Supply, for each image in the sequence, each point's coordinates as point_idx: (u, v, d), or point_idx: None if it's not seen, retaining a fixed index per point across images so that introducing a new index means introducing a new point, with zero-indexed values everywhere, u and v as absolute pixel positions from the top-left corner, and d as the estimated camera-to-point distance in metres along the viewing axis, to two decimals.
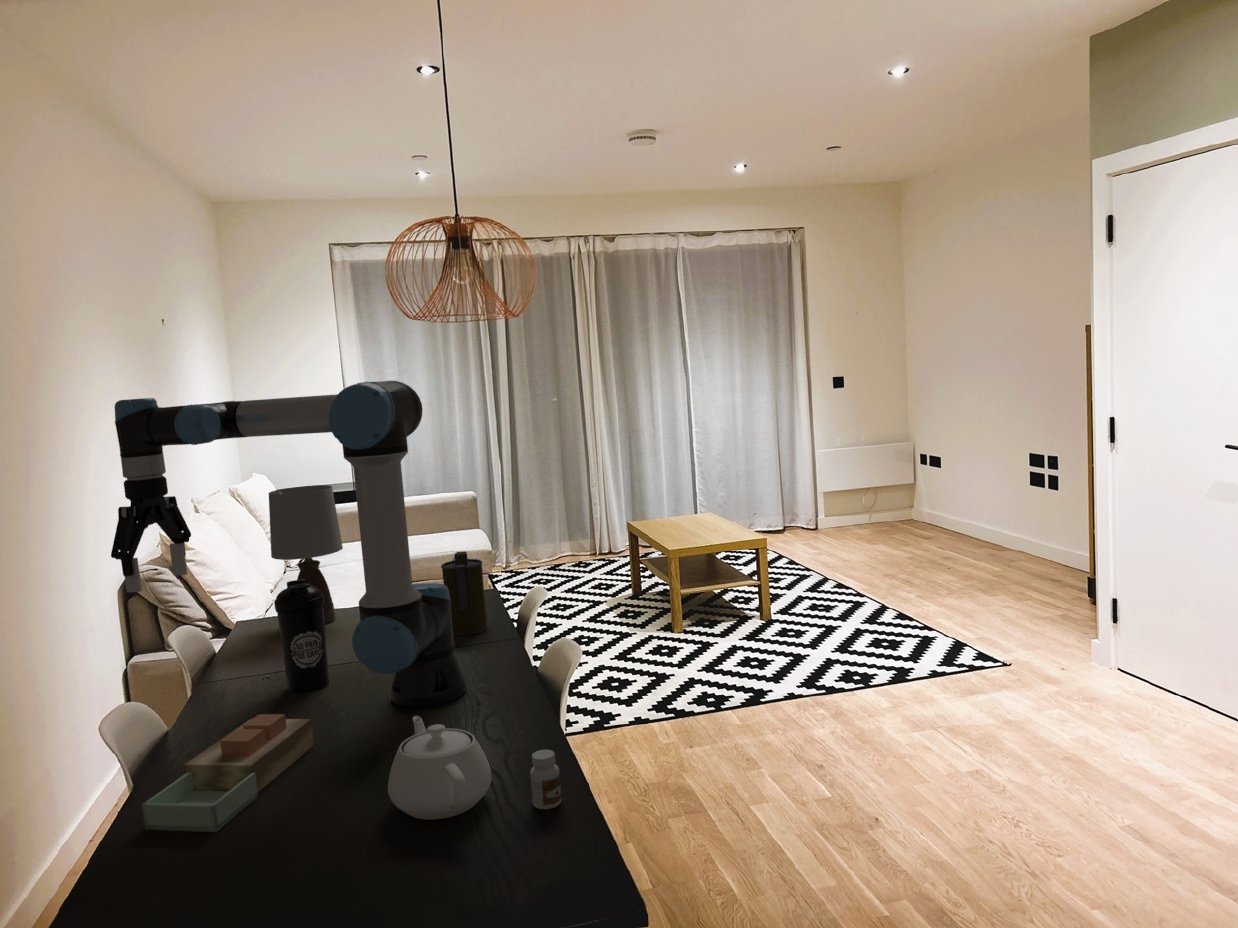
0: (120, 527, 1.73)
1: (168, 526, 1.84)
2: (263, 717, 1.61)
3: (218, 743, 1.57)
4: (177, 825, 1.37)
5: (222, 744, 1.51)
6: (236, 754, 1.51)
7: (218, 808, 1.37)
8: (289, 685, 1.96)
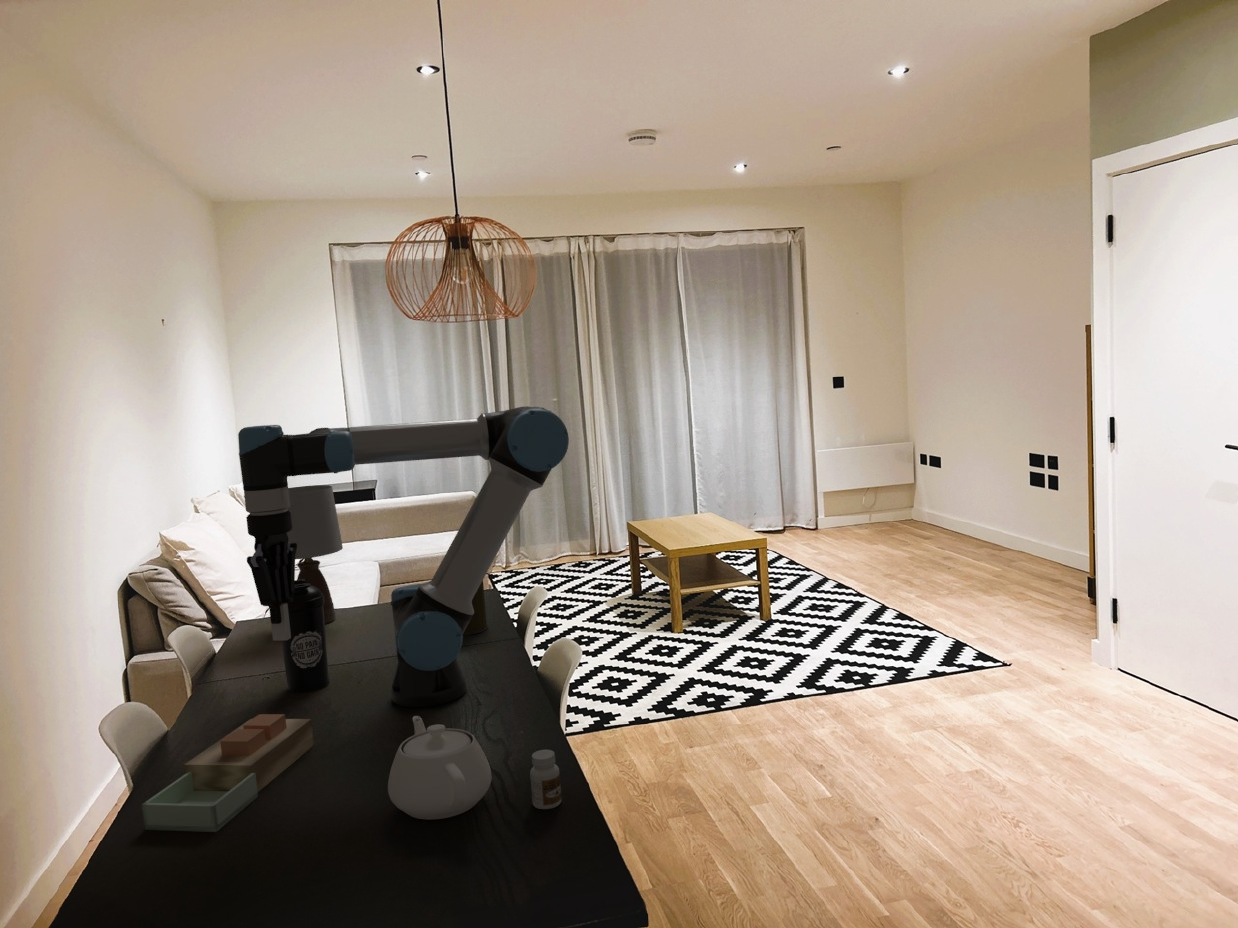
0: (257, 577, 1.60)
1: (281, 572, 1.66)
2: (263, 717, 1.61)
3: (218, 743, 1.57)
4: (177, 825, 1.37)
5: (222, 744, 1.51)
6: (236, 754, 1.51)
7: (218, 808, 1.37)
8: (289, 685, 1.96)
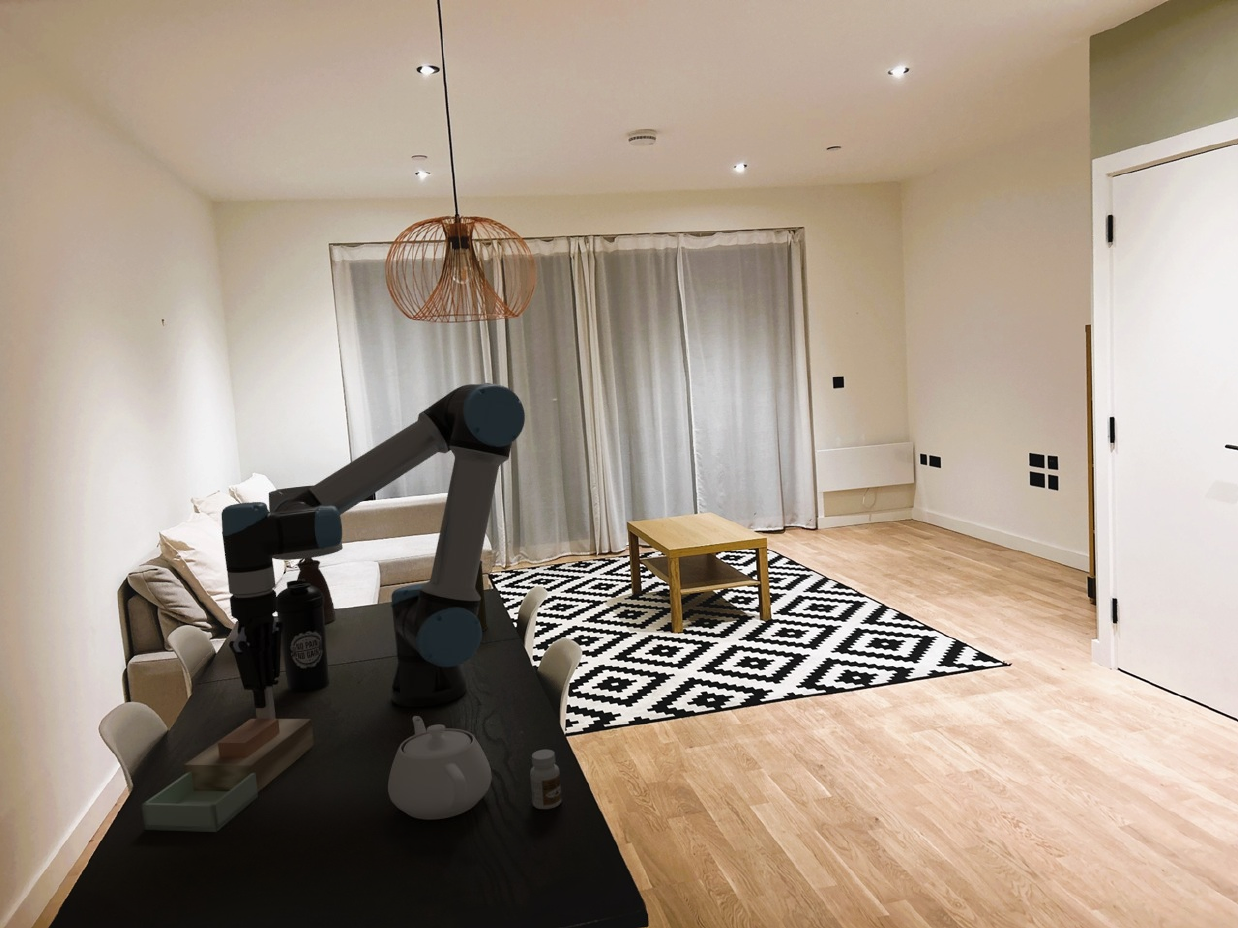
0: (240, 662, 1.55)
1: (265, 654, 1.60)
2: (256, 722, 1.59)
3: None
4: (177, 825, 1.37)
5: (219, 746, 1.51)
6: (233, 756, 1.50)
7: (218, 808, 1.37)
8: (289, 685, 1.96)
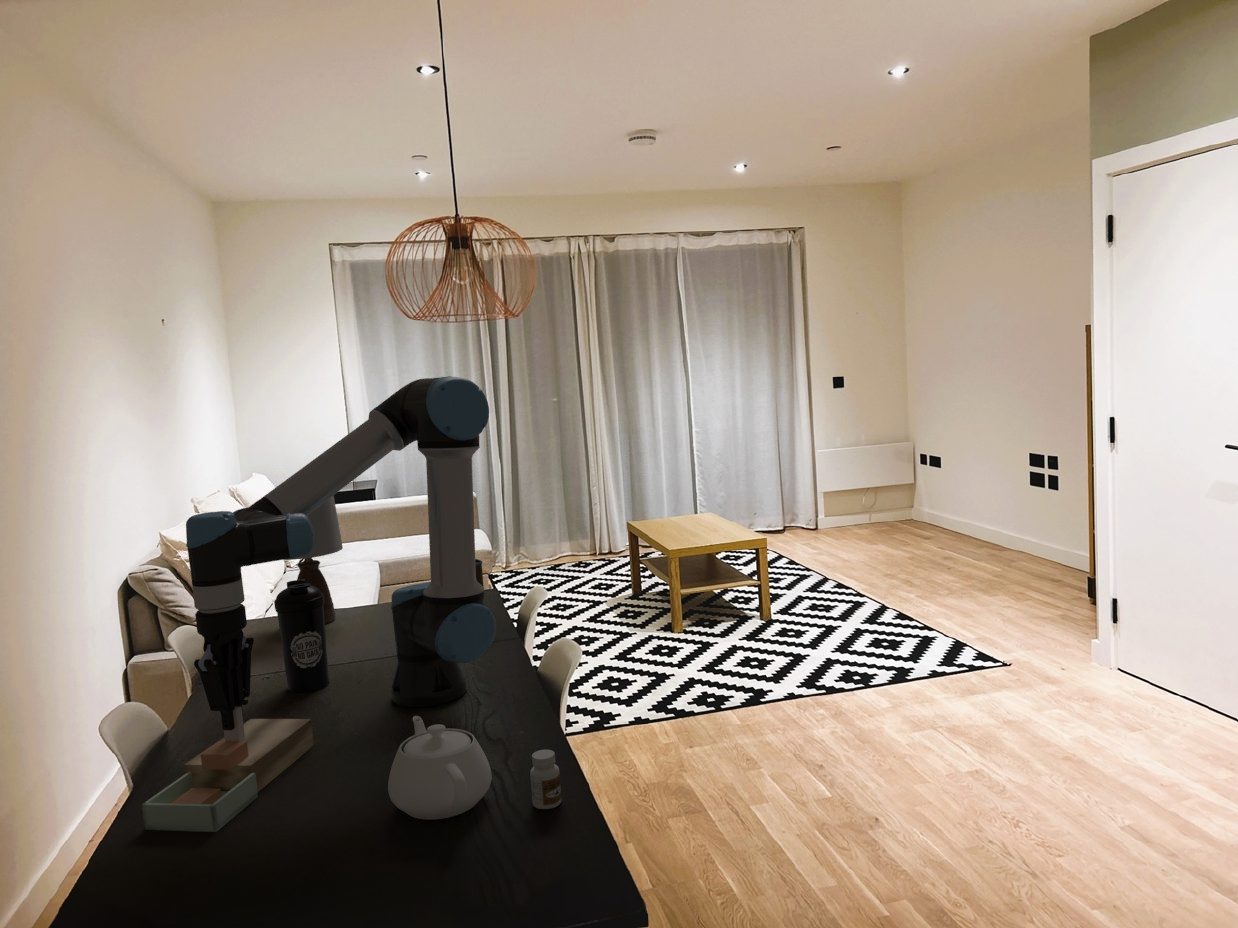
0: (206, 681, 1.46)
1: (234, 673, 1.51)
2: (223, 745, 1.49)
3: None
4: (177, 825, 1.37)
5: None
6: None
7: (218, 808, 1.37)
8: (289, 685, 1.96)
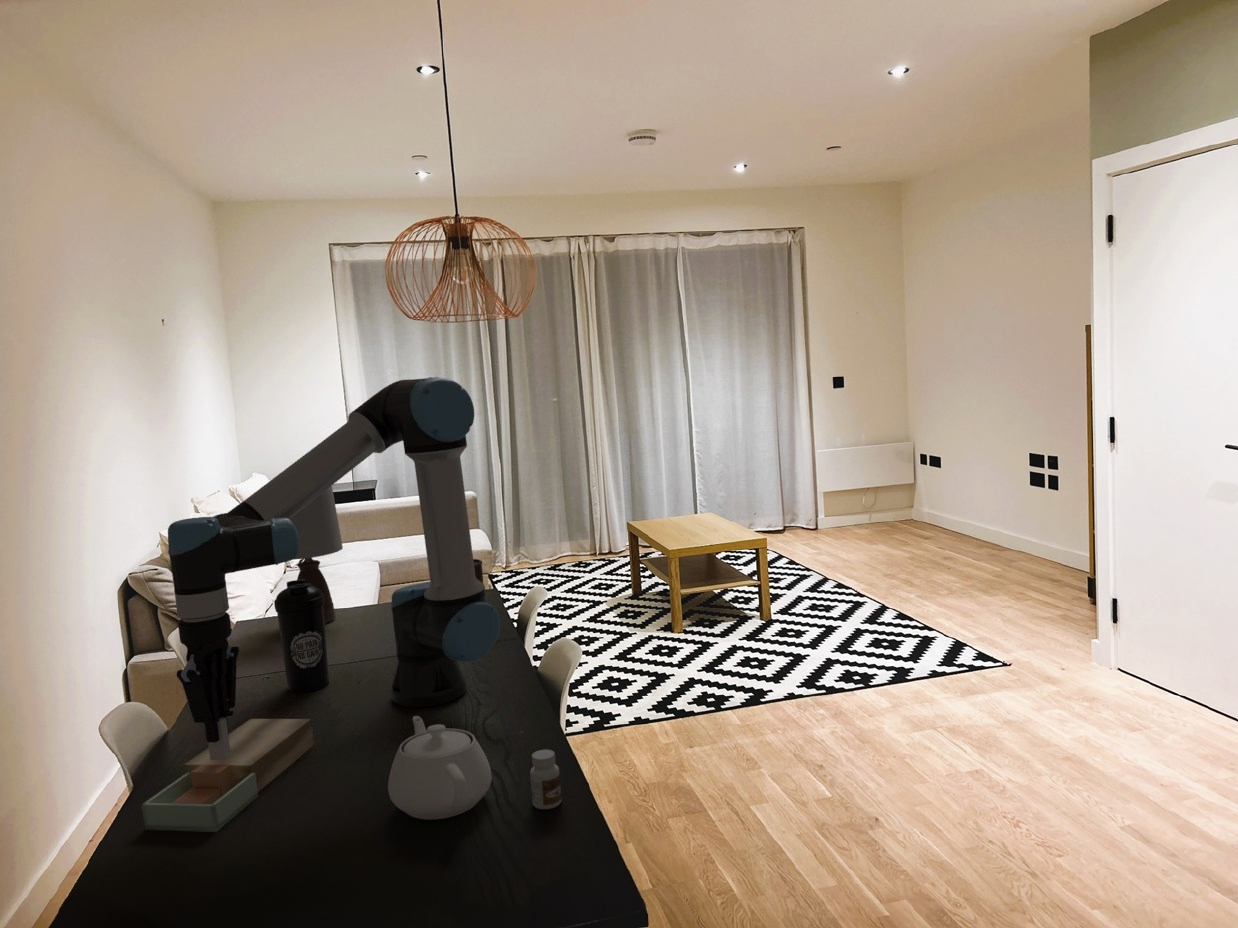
0: (190, 693, 1.41)
1: (218, 683, 1.47)
2: (201, 780, 1.44)
3: None
4: (177, 825, 1.37)
5: None
6: None
7: (218, 808, 1.37)
8: (289, 685, 1.96)
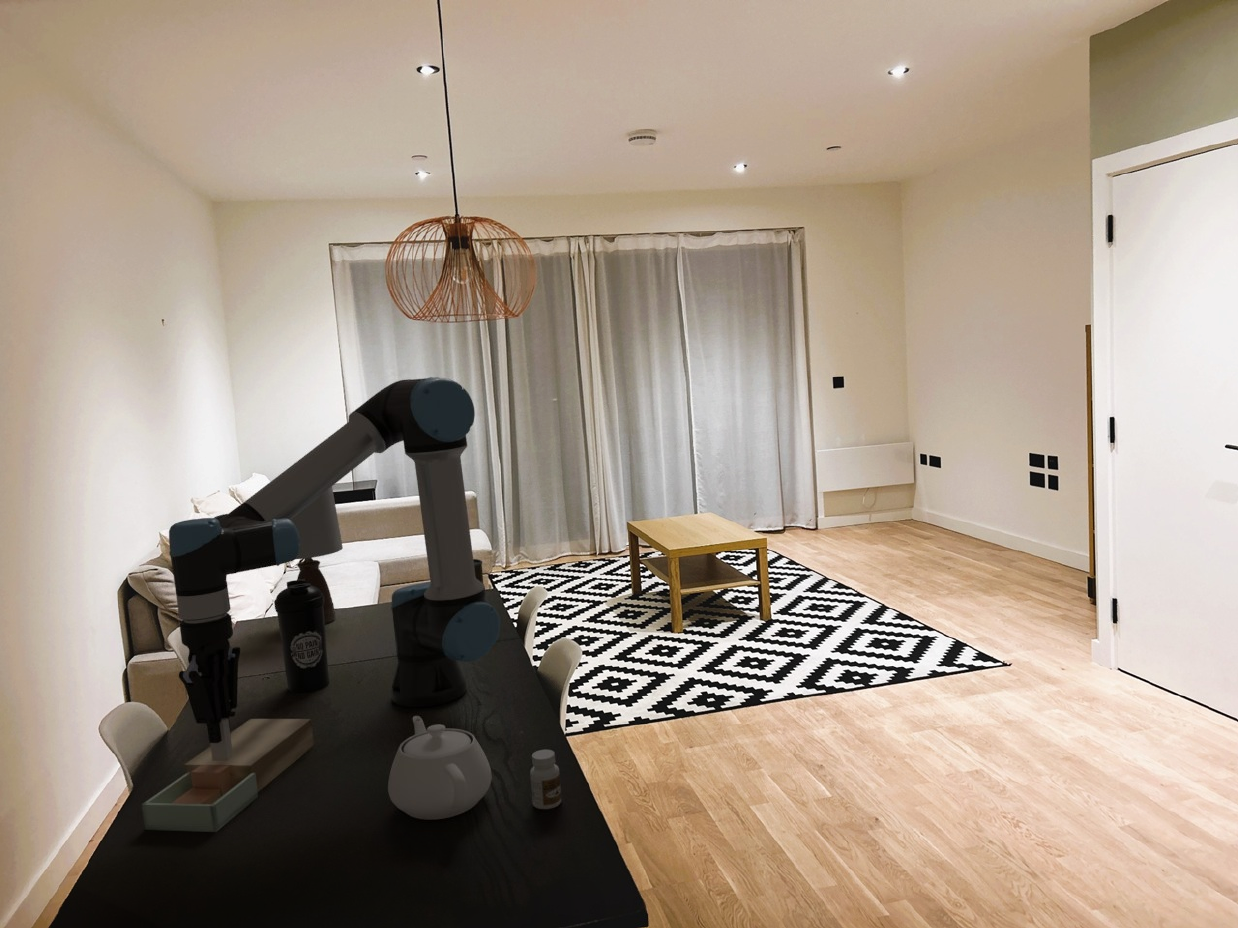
0: (192, 694, 1.41)
1: (220, 684, 1.47)
2: (201, 780, 1.44)
3: None
4: (177, 825, 1.37)
5: None
6: None
7: (218, 808, 1.37)
8: (289, 685, 1.96)
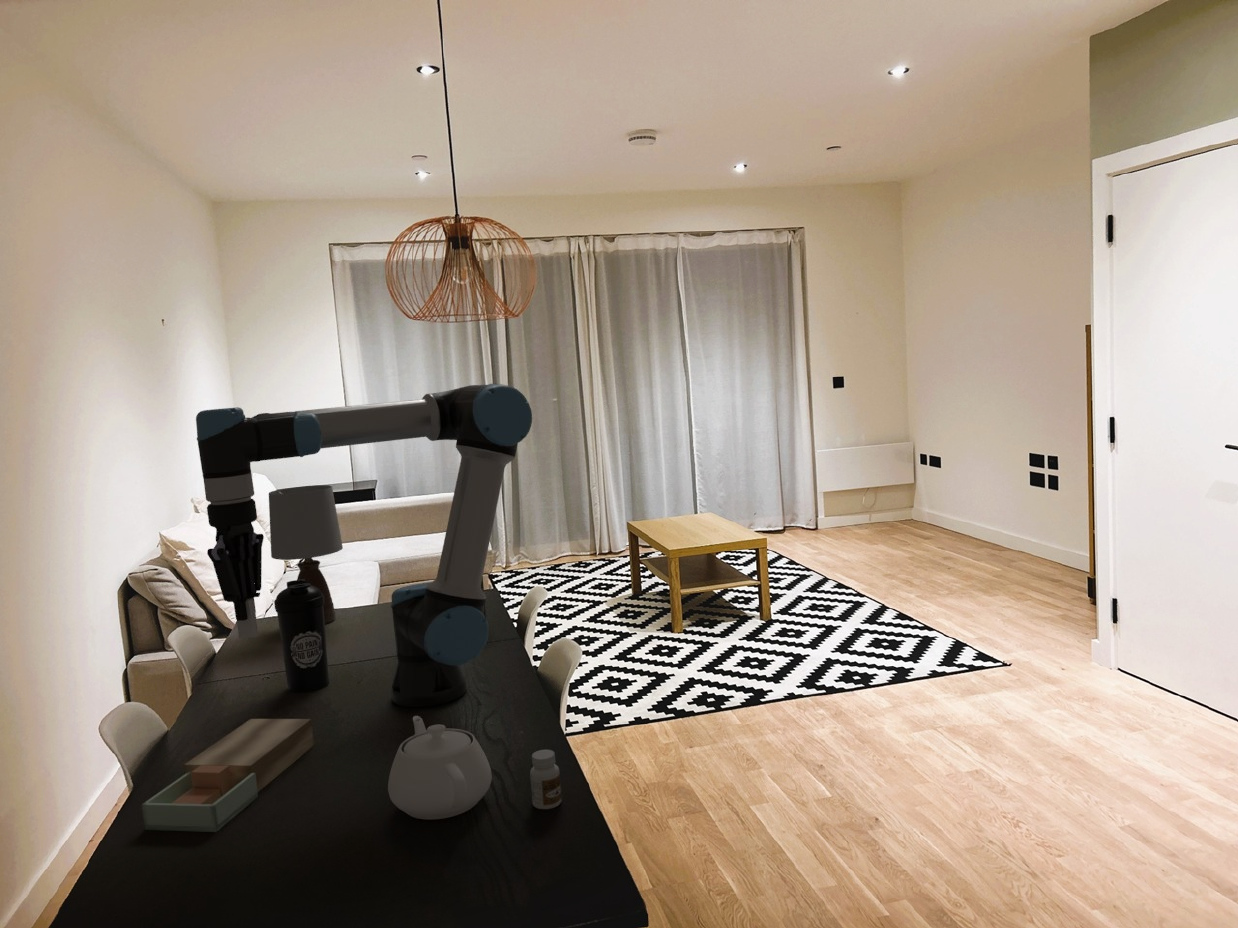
0: (219, 571, 1.50)
1: (246, 565, 1.55)
2: (201, 780, 1.44)
3: (218, 743, 1.57)
4: (177, 825, 1.37)
5: None
6: None
7: (218, 808, 1.37)
8: (289, 685, 1.96)
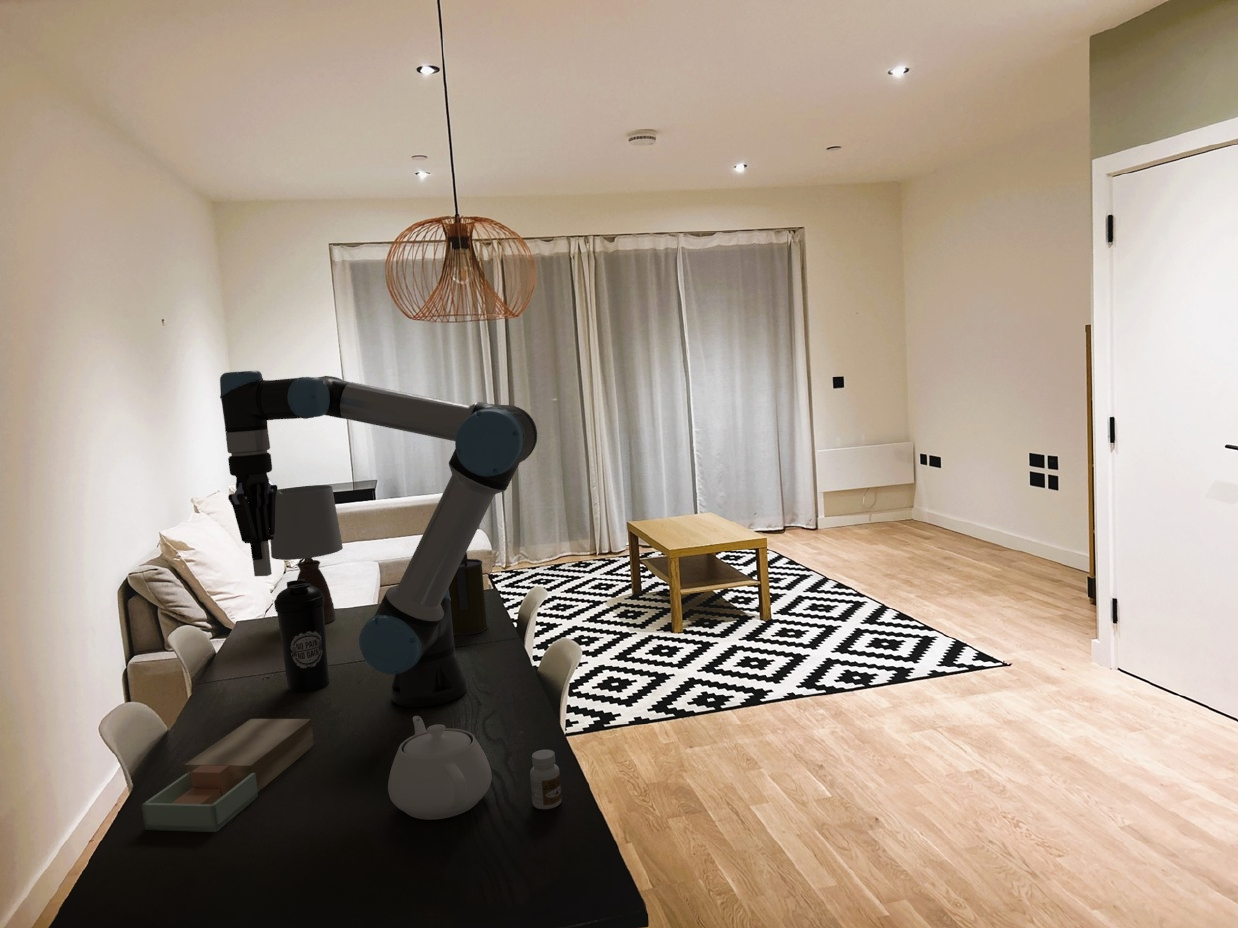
0: (239, 514, 1.69)
1: (261, 511, 1.74)
2: (201, 780, 1.44)
3: (218, 743, 1.57)
4: (177, 825, 1.37)
5: None
6: None
7: (218, 808, 1.37)
8: (289, 685, 1.96)
